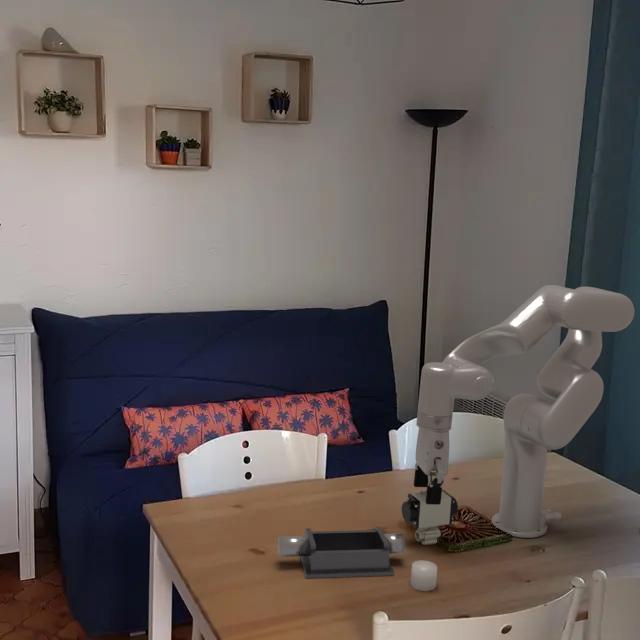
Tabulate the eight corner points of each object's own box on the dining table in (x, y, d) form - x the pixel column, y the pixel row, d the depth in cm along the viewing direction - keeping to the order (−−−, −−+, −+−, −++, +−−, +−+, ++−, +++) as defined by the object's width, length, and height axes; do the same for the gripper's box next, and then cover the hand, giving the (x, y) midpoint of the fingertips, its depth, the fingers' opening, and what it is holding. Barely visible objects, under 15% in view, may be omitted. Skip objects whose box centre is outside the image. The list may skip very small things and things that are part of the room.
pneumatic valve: (455, 543, 186) (459, 492, 184) (408, 549, 181) (412, 497, 179) (443, 532, 191) (447, 482, 189) (397, 539, 186) (400, 488, 184)
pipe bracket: (394, 548, 182) (396, 522, 181) (408, 574, 170) (410, 547, 169) (275, 551, 178) (276, 524, 177) (281, 579, 166) (282, 551, 165)
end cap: (431, 578, 170) (433, 560, 169) (439, 590, 165) (440, 571, 164) (407, 579, 169) (409, 560, 168) (414, 591, 164) (415, 572, 163)
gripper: (463, 433, 173) (455, 511, 176) (439, 409, 190) (432, 480, 193) (428, 432, 172) (420, 510, 175) (407, 408, 189) (400, 480, 192)
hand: (426, 495), depth 184 cm, fingers open, 9 cm apart
